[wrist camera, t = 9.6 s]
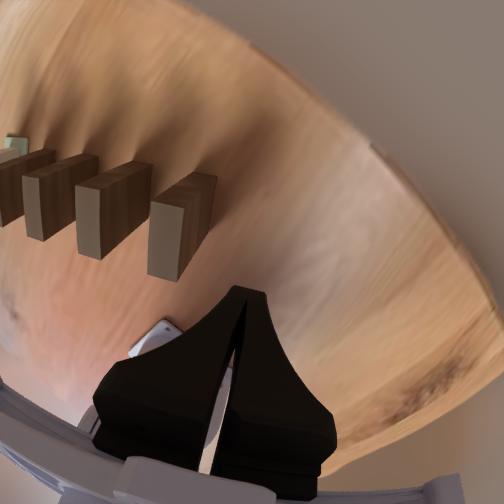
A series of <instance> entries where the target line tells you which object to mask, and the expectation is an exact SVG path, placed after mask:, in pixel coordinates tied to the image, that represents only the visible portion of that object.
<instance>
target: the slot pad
mask: <svg viewBox="0 0 504 504" xmlns="http://www.w3.org/2000/svg"><path fill="white" fill-rule="evenodd" d="M9 147H15V148H19V157H20V156H23V155H26V154H28V147H29V138H25V137H4V149H5V148H9Z"/></svg>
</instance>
